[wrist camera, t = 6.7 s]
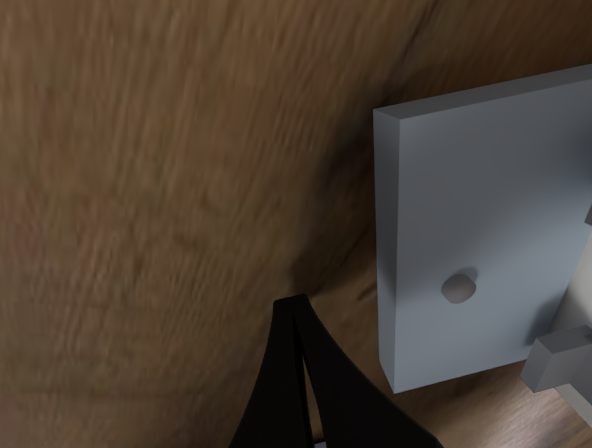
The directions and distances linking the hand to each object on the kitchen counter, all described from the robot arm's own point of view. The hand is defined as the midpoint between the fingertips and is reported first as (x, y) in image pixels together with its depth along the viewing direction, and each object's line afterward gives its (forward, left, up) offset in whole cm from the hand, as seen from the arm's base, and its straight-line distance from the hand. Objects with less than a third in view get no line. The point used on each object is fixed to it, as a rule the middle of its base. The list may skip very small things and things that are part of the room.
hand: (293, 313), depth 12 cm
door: (0, -8, -2) cm, 8 cm away
